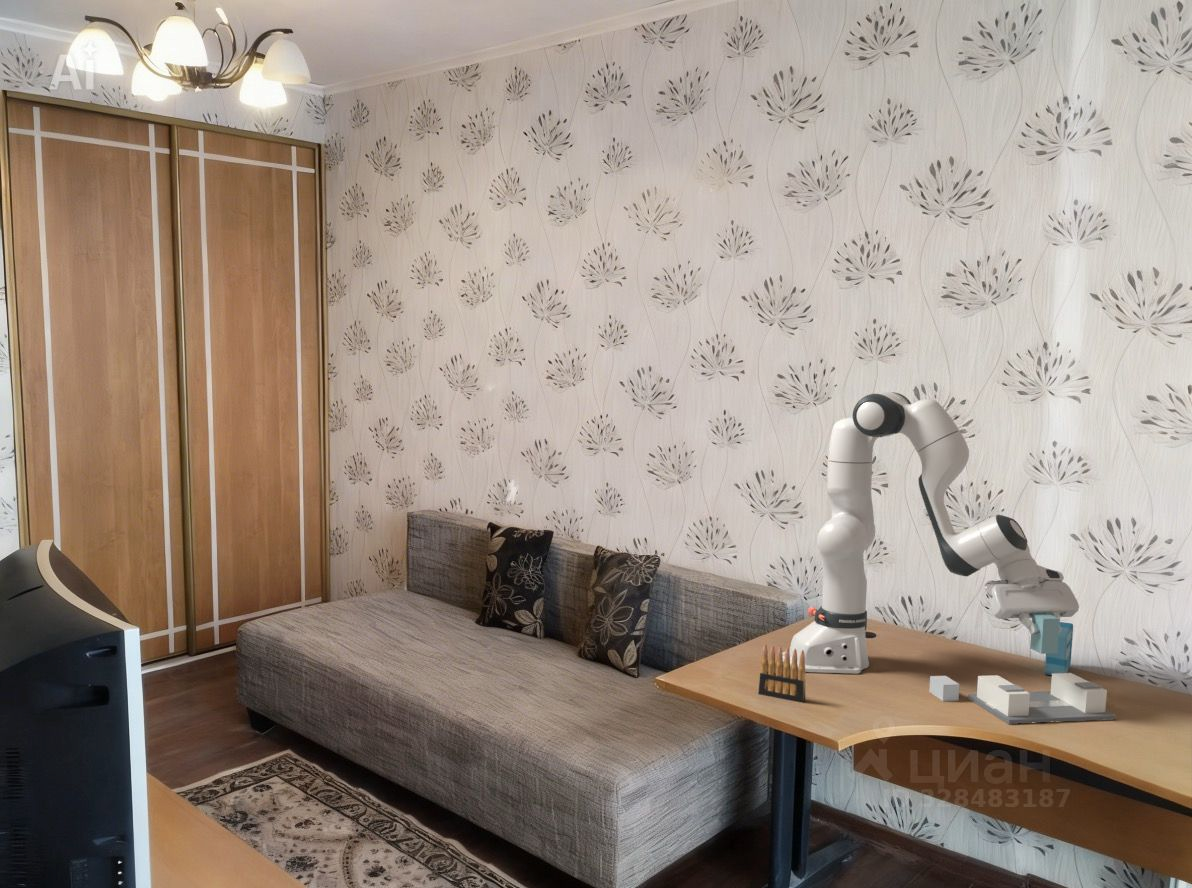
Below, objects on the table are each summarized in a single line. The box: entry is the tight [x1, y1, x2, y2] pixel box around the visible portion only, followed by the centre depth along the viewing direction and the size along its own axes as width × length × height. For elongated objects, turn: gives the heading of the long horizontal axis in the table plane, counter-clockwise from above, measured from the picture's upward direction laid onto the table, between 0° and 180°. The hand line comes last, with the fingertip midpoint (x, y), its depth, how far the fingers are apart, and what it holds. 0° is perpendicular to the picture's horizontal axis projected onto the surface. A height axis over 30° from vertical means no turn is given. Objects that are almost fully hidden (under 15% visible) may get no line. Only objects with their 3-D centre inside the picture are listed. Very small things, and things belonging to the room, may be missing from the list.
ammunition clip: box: [757, 643, 806, 703], centre depth 214 cm, size 11×2×12 cm, turn 62°
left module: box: [976, 675, 1030, 716], centre depth 210 cm, size 5×12×5 cm, turn 10°
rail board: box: [967, 690, 1116, 725], centre depth 212 cm, size 26×16×1 cm, turn 100°
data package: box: [1044, 621, 1074, 676], centre depth 238 cm, size 12×4×12 cm, turn 146°
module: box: [1029, 614, 1061, 655], centre depth 210 cm, size 4×4×8 cm
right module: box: [1050, 672, 1108, 713], centre depth 213 cm, size 5×12×5 cm, turn 9°
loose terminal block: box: [928, 675, 960, 702], centre depth 218 cm, size 4×6×4 cm, turn 10°
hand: (1046, 632), depth 210 cm, fingers closed on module, 4 cm apart
